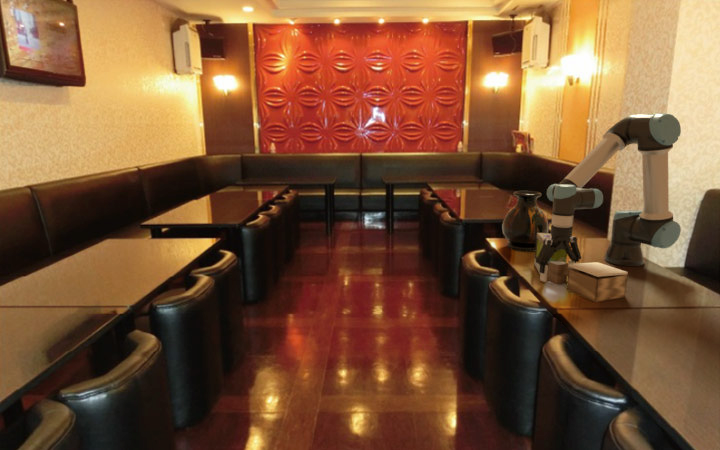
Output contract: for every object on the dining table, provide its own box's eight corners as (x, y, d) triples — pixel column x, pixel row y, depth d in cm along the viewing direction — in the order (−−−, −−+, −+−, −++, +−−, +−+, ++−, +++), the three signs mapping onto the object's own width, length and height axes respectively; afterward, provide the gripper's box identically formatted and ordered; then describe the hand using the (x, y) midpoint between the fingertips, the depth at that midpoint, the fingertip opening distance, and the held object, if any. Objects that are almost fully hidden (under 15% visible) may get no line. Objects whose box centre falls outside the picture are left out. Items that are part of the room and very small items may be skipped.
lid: (597, 264, 172) (597, 262, 172) (627, 274, 160) (627, 272, 160) (568, 266, 167) (568, 263, 167) (597, 276, 155) (597, 274, 155)
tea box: (565, 276, 184) (569, 241, 181) (539, 275, 186) (542, 240, 183) (557, 265, 198) (560, 232, 195) (533, 264, 200) (536, 231, 197)
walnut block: (557, 279, 181) (558, 260, 179) (566, 283, 176) (568, 263, 174) (547, 281, 179) (548, 261, 177) (556, 285, 174) (558, 265, 173)
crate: (595, 285, 174) (597, 265, 172) (625, 296, 162) (627, 275, 160) (566, 289, 169) (568, 269, 167) (595, 302, 157) (597, 280, 155)
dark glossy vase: (541, 256, 213) (546, 197, 207) (495, 249, 224) (498, 193, 218) (550, 246, 230) (555, 191, 224) (507, 240, 242) (511, 188, 236)
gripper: (579, 221, 180) (574, 272, 185) (528, 226, 172) (524, 279, 176) (594, 224, 173) (589, 278, 178) (542, 230, 165) (538, 285, 170)
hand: (556, 279), depth 177 cm, fingers open, 13 cm apart
